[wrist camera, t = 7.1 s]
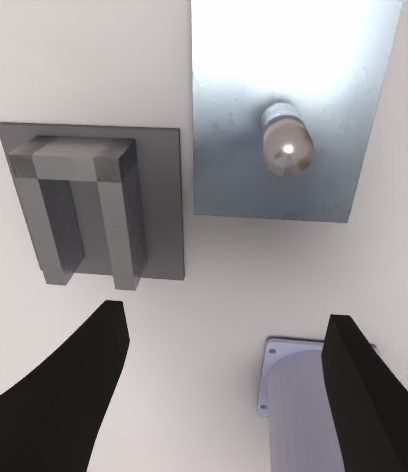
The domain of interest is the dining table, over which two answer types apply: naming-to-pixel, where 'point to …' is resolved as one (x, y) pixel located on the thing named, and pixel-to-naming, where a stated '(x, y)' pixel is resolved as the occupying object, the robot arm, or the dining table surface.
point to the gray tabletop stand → (63, 209)
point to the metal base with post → (285, 103)
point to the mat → (152, 193)
